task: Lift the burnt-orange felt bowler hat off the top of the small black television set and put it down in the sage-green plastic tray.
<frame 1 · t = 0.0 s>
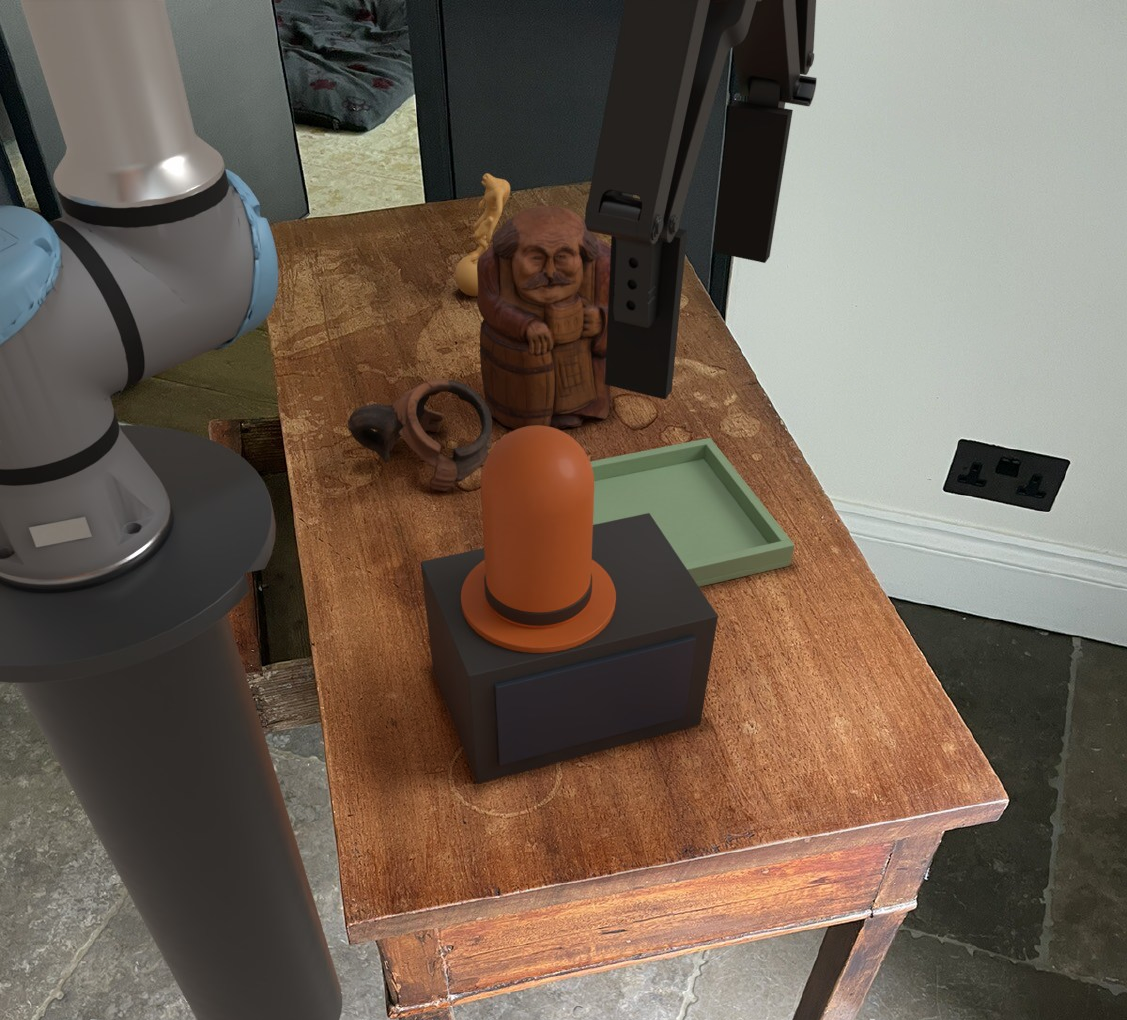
hand: (693, 316, 48), 30 cm above the table, tool pointing down, fingers open, 13 cm apart
figurine: (484, 295, 113), on the table
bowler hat: (538, 599, 66), point 10 cm above the table, touching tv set
wooden figurine: (550, 415, 98), on the table
tray: (660, 527, 87), on the table
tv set: (564, 697, 75), on the table
brown looped piece: (424, 465, 93), on the table
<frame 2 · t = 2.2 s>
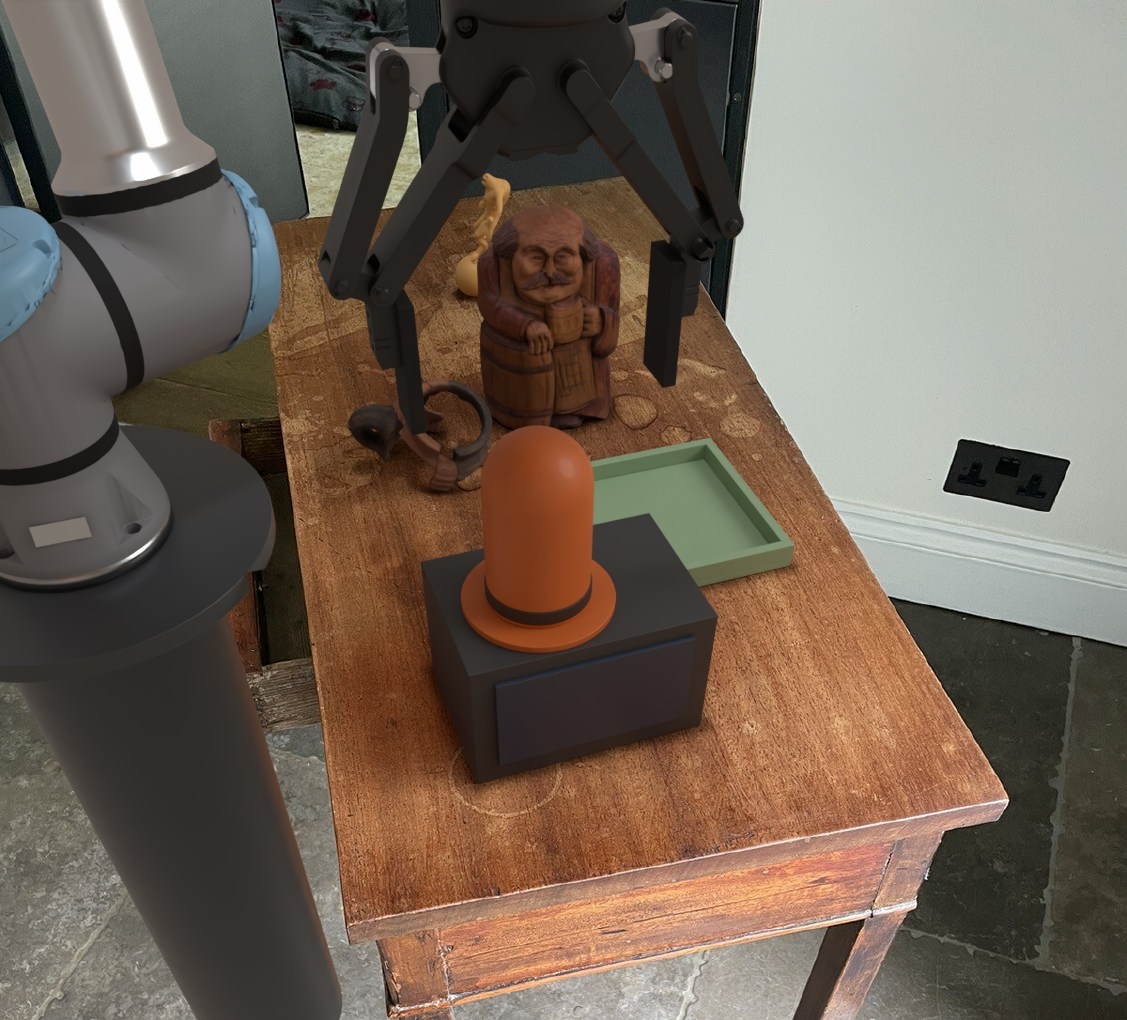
hand: (539, 397, 56), 24 cm above the table, tool pointing down, fingers open, 13 cm apart
nothing on the table moved.
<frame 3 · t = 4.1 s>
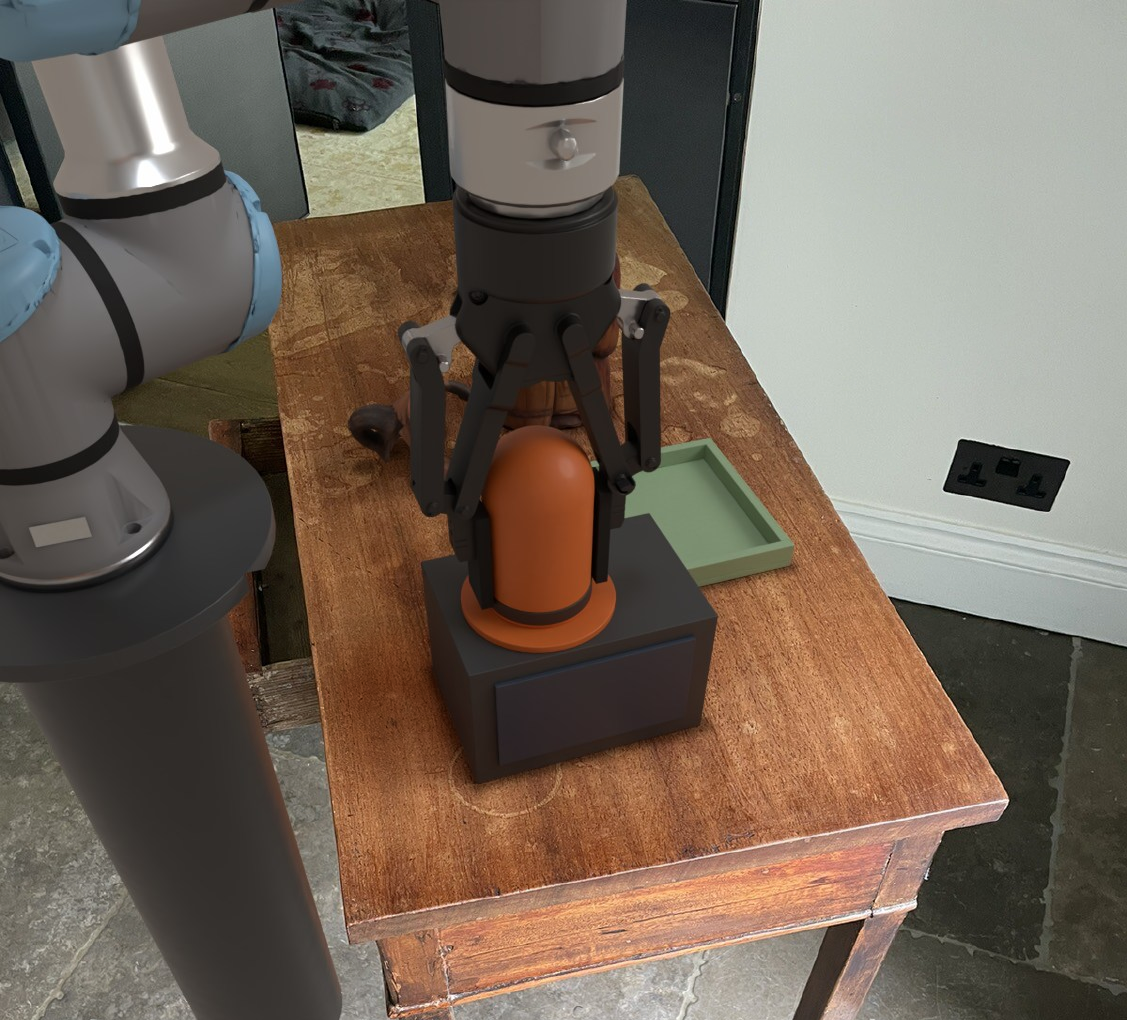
hand: (538, 581, 65), 11 cm above the table, tool pointing down, fingers closed on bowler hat, 7 cm apart
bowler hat: (538, 599, 66), point 10 cm above the table, touching gripper, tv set
everything else where it was.
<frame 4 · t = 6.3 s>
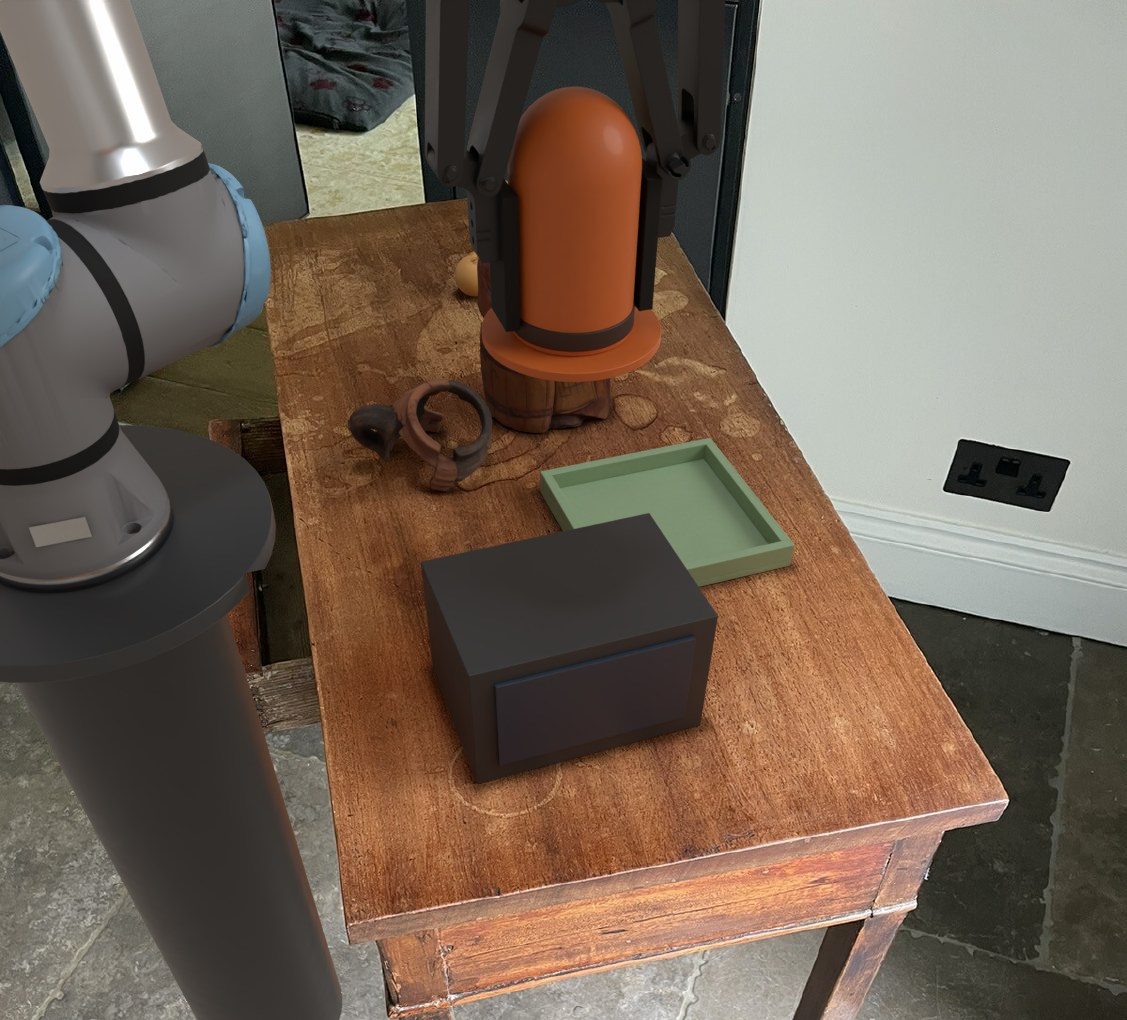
hand: (571, 307, 56), 27 cm above the table, tool pointing down, fingers closed on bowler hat, 7 cm apart
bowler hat: (571, 334, 57), point 25 cm above the table, touching gripper
everything else where it was.
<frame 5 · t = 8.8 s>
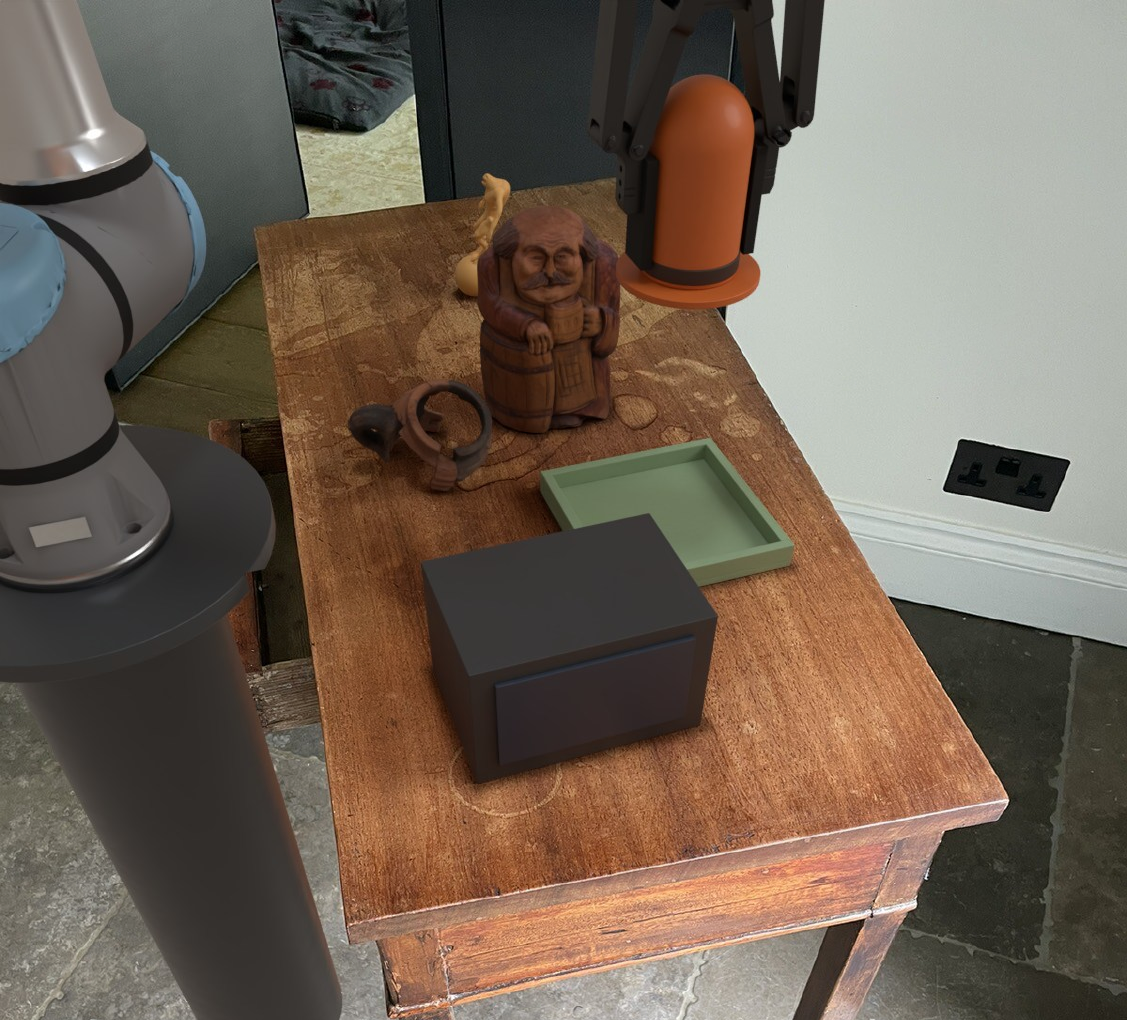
hand: (689, 252, 70), 22 cm above the table, tool pointing down, fingers closed on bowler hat, 7 cm apart
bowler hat: (687, 274, 71), point 21 cm above the table, touching gripper
everything else where it was.
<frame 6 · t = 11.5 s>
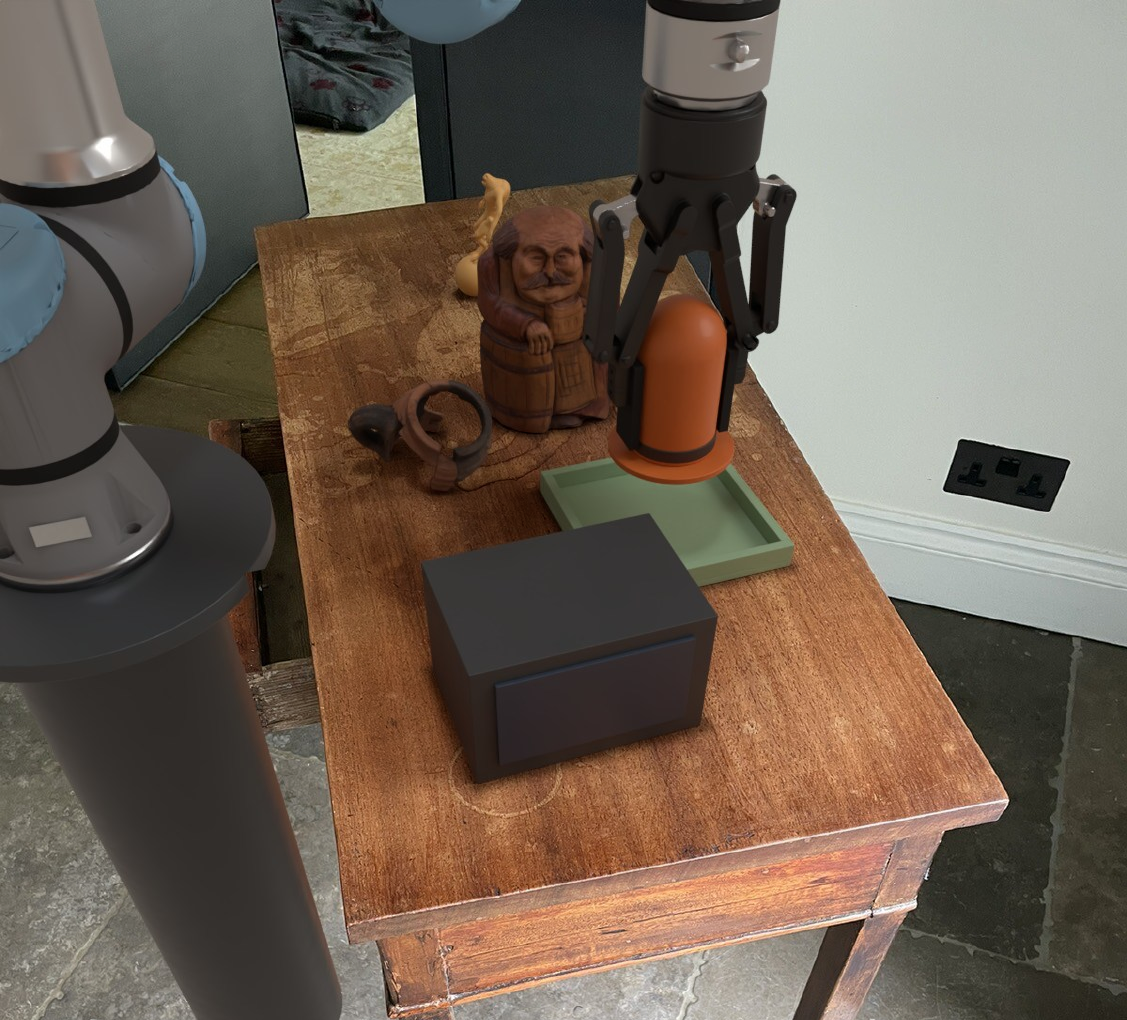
hand: (672, 430, 80), 9 cm above the table, tool pointing down, fingers closed on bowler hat, 7 cm apart
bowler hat: (670, 447, 82), point 8 cm above the table, touching gripper
everything else where it was.
when the fingers open (2 cm above the table, at t = 13.5 s): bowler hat stays where it is, resting on tray.
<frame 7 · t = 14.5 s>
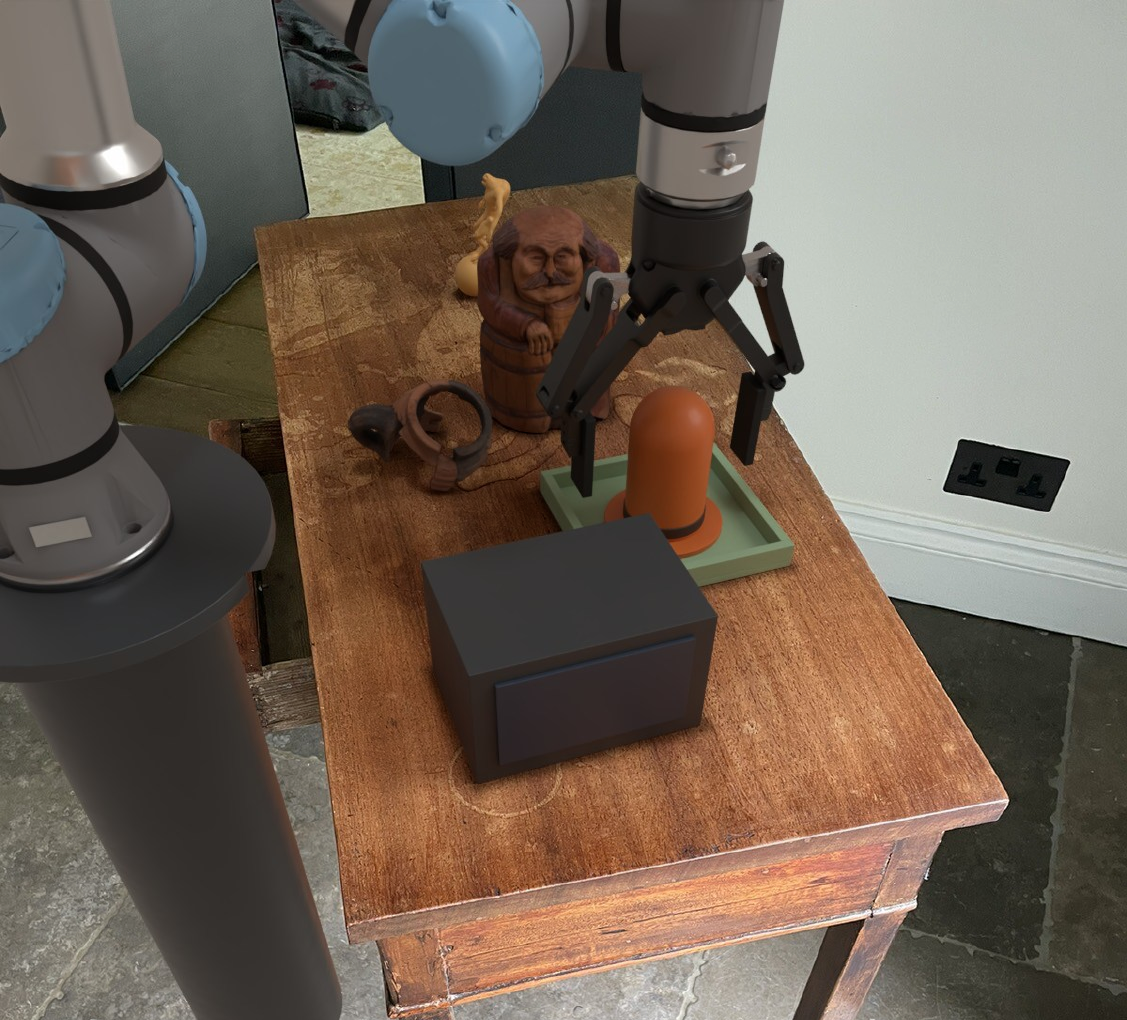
hand: (662, 471, 83), 5 cm above the table, tool pointing down, fingers open, 13 cm apart
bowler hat: (662, 522, 87), point 1 cm above the table, touching tray
everything else where it was.
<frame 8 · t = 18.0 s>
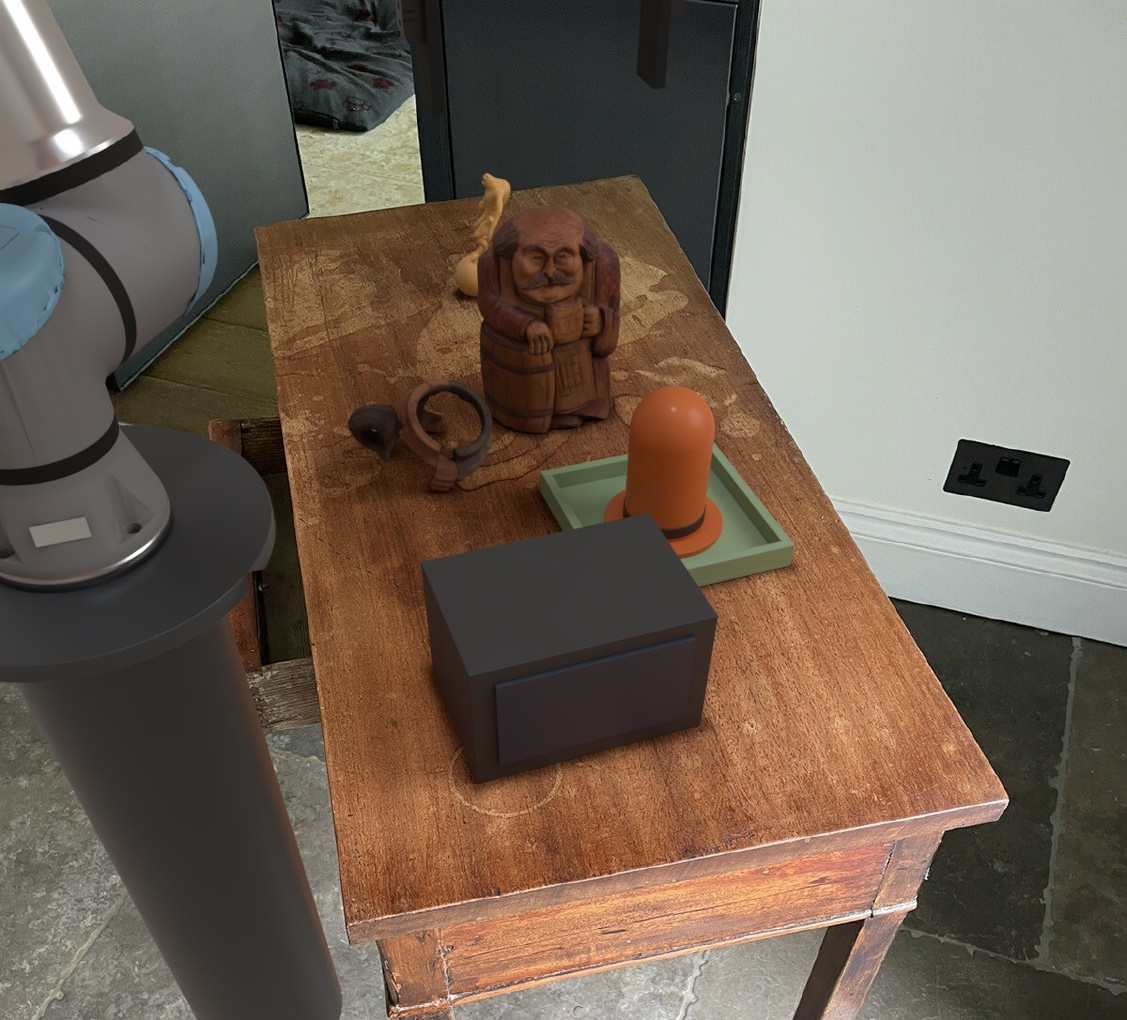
hand: (544, 94, 63), 32 cm above the table, tool pointing down, fingers open, 13 cm apart
nothing on the table moved.
at the end: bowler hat inside the target area in the tray (0.1 cm from its centre), point 0.6 cm above the tray's base; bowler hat tilted 0°; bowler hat touching tray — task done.
